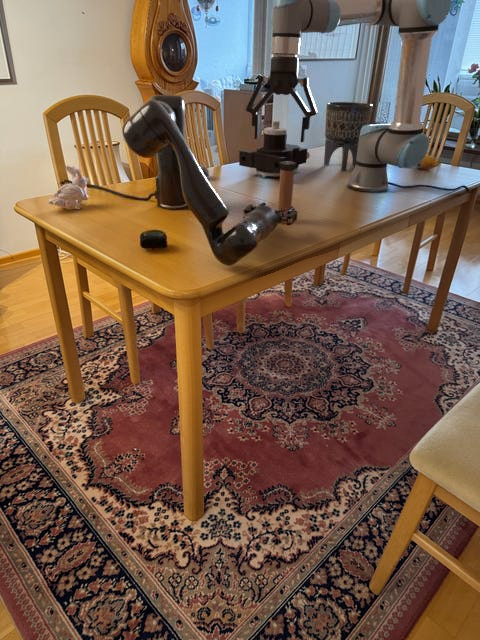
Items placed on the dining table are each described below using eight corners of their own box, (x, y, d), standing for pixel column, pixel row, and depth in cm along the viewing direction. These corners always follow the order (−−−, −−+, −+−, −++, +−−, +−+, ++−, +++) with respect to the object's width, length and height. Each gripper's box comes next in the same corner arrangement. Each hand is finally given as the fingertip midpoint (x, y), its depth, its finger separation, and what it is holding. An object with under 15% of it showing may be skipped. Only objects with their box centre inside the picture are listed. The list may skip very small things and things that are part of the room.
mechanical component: (240, 120, 182) (283, 115, 202) (239, 174, 192) (280, 164, 212) (283, 126, 170) (325, 120, 190) (280, 183, 180) (320, 171, 200)
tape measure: (140, 252, 115) (139, 238, 113) (141, 242, 120) (140, 229, 119) (167, 251, 116) (166, 237, 114) (167, 241, 121) (166, 228, 120)
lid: (296, 167, 133) (296, 161, 132) (294, 170, 129) (295, 164, 128) (280, 166, 134) (280, 160, 133) (278, 169, 130) (279, 163, 129)
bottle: (291, 219, 141) (295, 163, 132) (289, 223, 137) (294, 166, 129) (278, 218, 142) (281, 162, 133) (276, 222, 138) (280, 165, 130)
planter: (313, 167, 208) (319, 103, 195) (331, 160, 222) (338, 101, 209) (353, 173, 199) (362, 107, 185) (369, 166, 213) (379, 104, 199)
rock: (201, 174, 190) (201, 158, 187) (214, 178, 185) (214, 162, 181) (174, 179, 183) (173, 162, 179) (187, 183, 177) (186, 166, 174)
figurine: (98, 204, 150) (92, 164, 144) (60, 215, 140) (52, 173, 133) (82, 200, 154) (76, 161, 148) (43, 210, 143) (35, 169, 137)
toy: (413, 162, 205) (407, 155, 217) (415, 176, 208) (410, 168, 220) (439, 154, 201) (432, 147, 214) (441, 168, 204) (434, 161, 217)
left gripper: (286, 213, 113) (303, 197, 126) (233, 206, 118) (255, 191, 131) (284, 242, 117) (300, 223, 130) (233, 234, 122) (254, 217, 135)
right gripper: (332, 57, 123) (323, 141, 133) (243, 55, 128) (241, 135, 138) (330, 57, 116) (320, 144, 127) (236, 54, 121) (234, 139, 132)
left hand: (277, 207), depth 131 cm, fingers open, 8 cm apart
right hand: (279, 140), depth 133 cm, fingers open, 13 cm apart
